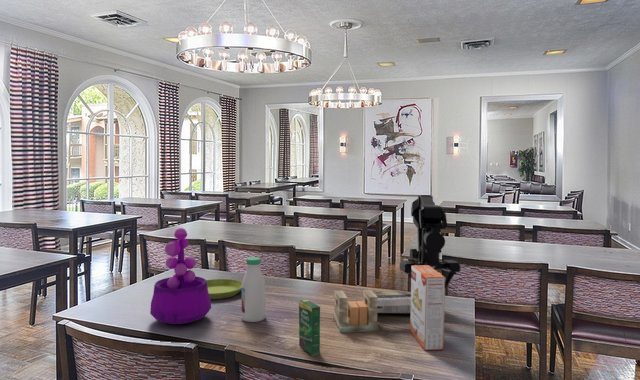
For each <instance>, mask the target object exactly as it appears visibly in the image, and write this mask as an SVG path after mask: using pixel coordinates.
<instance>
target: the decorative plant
mask: <svg viewBox="0 0 640 380" xmlns="http://www.w3.org/2000/svg"><path fill="white" fill-rule="evenodd" d="M187 236H188V233H187V230H186V229H185V228H182V227H179V228H177V229H176V230H175V232H174V237H175V239H176V240H177V241H175V240H174V241H173V240H171V241H169V242H168V243H166V245H165V246H164V252H165V254H166V255H167V256H168V258H167V259H166V261H165V266H166V267H167V268H168V269H169V270H170V269H171V270H172V269H174V274H173V276H170V277H165V278H162V279H159V280H158V281H156V282H155V283H154V285H153V295H152V298H151V301H150V310H149V311H150V312H149V313H150V315H151V316H152V317H153V319H155V320H156V321H158V322H160V323H164V324H169V325H185V324H189V323H193V322H196V321H198V320H201V319H202V318H204V317H206V315H207V314H208V313H209V312H210V310H211V309H212V299H210V296H209V293H208V287H207V281H206V280H207V279H205V278H204V277H200V276H196V273H195V271H193V270H192V269H194V268H195V266H197V260H196V259H195V258H194V257H193V256H189V257H185V250H184V249H186V248H188V246H189V240H187V239H186V238H187ZM169 256H170V257H169Z"/></svg>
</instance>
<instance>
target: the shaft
mask: <svg viewBox="0 0 640 380" xmlns="http://www.w3.org/2000/svg"><path fill="white" fill-rule="evenodd" d="M402 305H411V297H399V298H378V299H377V306H402Z"/></svg>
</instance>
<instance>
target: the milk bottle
mask: <svg viewBox="0 0 640 380" xmlns="http://www.w3.org/2000/svg"><path fill="white" fill-rule="evenodd" d="M261 263H262V259H261V257H257V256H256V257H255V256H253V257H252V256H251V257H247V258H246V272H245V273H244V276H243V279H242V281H241V282H242V289H241V320H242V321H244V322H246V323H247V322H248V323H258V322H261V321H264V320H265V318H266V281H265V278H264V274H263V273H262V270H261V265H262V264H261Z"/></svg>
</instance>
